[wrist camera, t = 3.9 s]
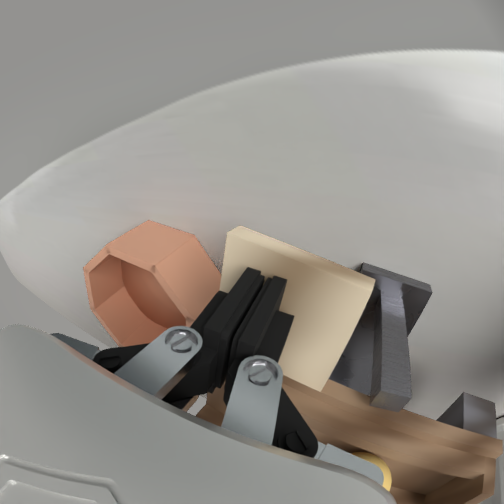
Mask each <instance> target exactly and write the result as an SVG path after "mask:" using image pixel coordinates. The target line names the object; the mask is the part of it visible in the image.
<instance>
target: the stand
mask: <svg viewBox="0 0 504 504" xmlns="http://www.w3.org/2000/svg"><path fill="white" fill-rule="evenodd" d="M360 273H361V274H364V275H366V276H368V277H371V278H373V279H376V280H375V284H374V287H373V290H372V293H371V295H370V298H369V300H368V302H367V304H366V306H365V308H364V311H363V313H362V315H361V317H360V319H359V321H358V323H357V325H356V327H355V329H354V331H353V333H352V335H351V337H350V339H349V341H348V343H347V345H346V347H345V349H344V351H343V353H342V355H341V357H340V358H339V360H338V362H337V364H336V366H335V368H334V369H333V371H332V373H331V375H330V377H329V378H328V379H330V380H332V381H334V382H337V383H339V384H341V385H344V386H346V387H348V388H351V389H353V390H356V391H358V392H360V393H363V394H365V395H369V393H370V403H369V406H373V407H377V408H381V409H386V410H390V411H394V412H399V411H400V410H401V409H402V408H403V407H404V406H405V405H406V404H407V402H408V401H409V400H410V399H411V376H410V361H409V349H408V339H407V337H408V335H409V334H410V332H411V330H412V329H413V327H414V325H415V323H416V322H417V320H418V318H419V317H420V315H421V313H422V311H423V309H424V308H425V306H426V304H427V302H428V300H429V298H430V296H431V294H432V290H431V287H430V285H429V284H426V283H423V282H420V281H417V280H414V279H411V278H408V277H405V276H402V275H399V274H396V273H393V272H390V271H387V270H384V269H381V268H378V267H375V266H372V265H369V264H366V263H363V265H362V267H361V270H360Z"/></svg>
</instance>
